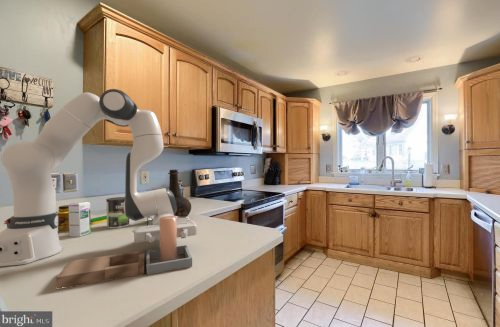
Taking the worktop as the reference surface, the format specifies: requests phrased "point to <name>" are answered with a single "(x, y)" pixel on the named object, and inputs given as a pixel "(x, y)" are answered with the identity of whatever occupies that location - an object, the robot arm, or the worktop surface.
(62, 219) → the condiment
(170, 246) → the peach cylinder
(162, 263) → the grey square frame
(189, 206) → the dark brown vase
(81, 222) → the syrup box
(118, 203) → the coffee can
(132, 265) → the partly covered box
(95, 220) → the dish sponge
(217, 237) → the worktop surface
